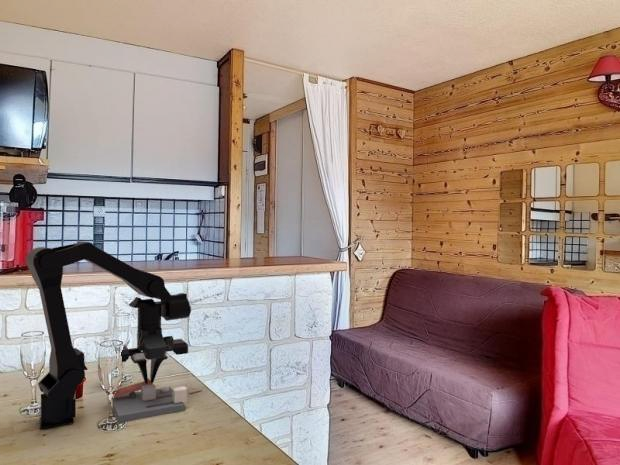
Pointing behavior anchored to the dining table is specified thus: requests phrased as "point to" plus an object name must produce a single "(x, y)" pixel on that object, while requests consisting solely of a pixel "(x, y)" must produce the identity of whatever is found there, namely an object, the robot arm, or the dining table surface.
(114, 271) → the robot arm
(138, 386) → the rocker
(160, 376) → the dining table surface
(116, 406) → the panel
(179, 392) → the front slider
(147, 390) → the middle slider
